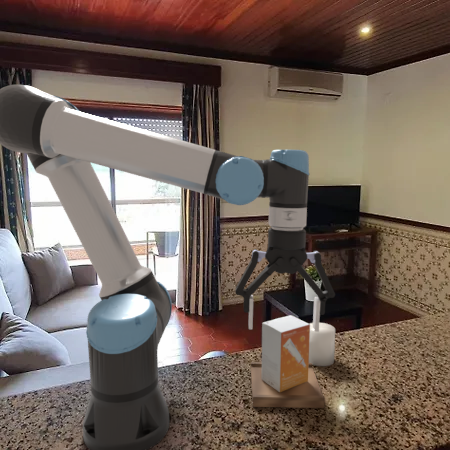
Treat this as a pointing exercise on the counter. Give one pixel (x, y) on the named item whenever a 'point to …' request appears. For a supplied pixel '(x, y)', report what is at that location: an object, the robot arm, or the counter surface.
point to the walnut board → (285, 392)
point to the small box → (285, 352)
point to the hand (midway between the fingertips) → (282, 328)
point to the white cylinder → (322, 345)
